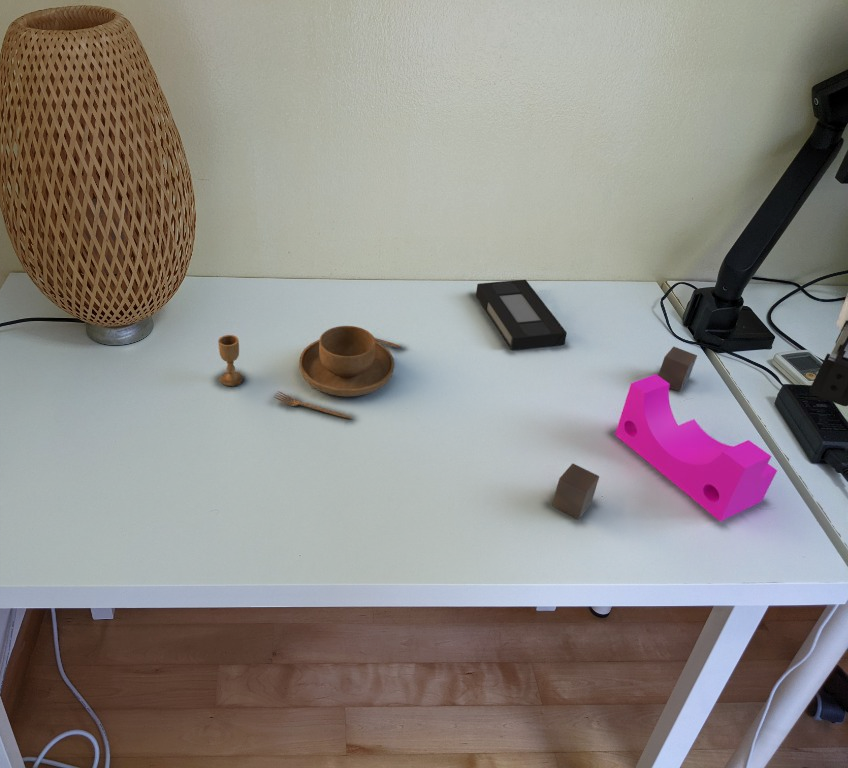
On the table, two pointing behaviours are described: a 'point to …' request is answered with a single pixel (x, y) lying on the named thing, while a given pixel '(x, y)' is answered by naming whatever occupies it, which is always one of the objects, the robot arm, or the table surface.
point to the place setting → (330, 364)
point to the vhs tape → (520, 315)
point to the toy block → (693, 453)
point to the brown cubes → (582, 483)
